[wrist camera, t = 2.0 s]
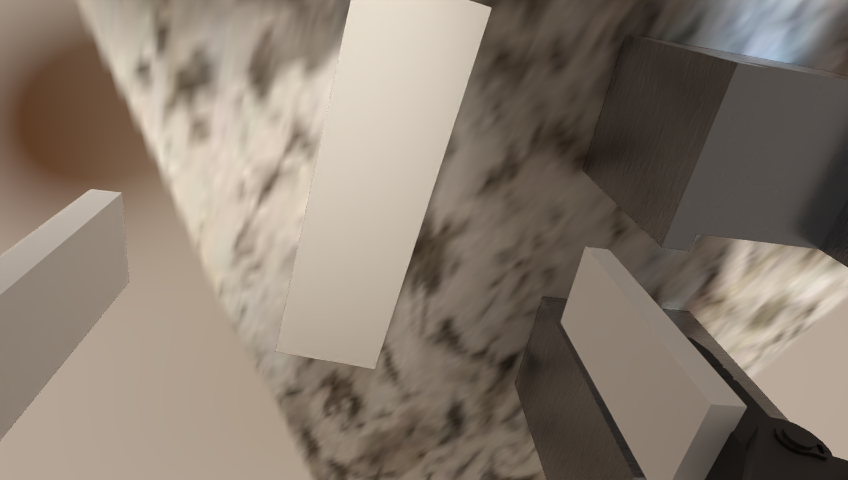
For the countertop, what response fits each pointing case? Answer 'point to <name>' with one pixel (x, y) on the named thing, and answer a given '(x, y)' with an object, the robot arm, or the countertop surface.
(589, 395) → the cup bracket
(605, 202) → the countertop surface
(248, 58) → the countertop surface
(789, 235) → the grey channel block
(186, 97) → the countertop surface
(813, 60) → the countertop surface
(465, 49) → the cream rectangular block
